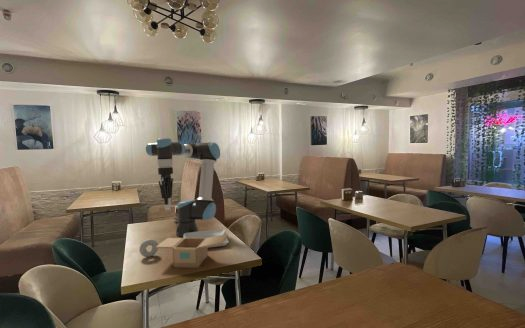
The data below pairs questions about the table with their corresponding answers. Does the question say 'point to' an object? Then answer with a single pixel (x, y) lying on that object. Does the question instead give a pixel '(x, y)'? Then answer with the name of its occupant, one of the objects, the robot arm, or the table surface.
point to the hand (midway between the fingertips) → (167, 209)
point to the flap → (213, 241)
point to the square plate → (207, 235)
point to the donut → (147, 243)
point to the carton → (186, 251)
